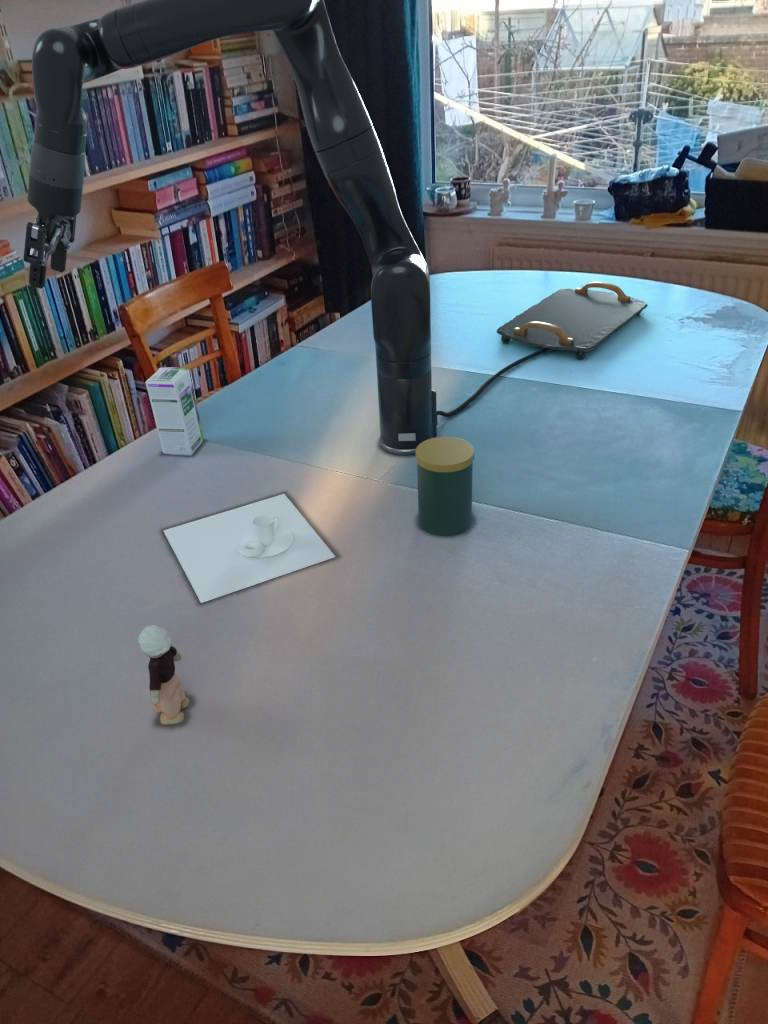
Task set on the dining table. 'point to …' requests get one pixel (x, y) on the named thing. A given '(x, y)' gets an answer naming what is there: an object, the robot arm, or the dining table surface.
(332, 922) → the dining table surface
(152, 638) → the grandmother figurine
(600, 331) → the serving tray
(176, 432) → the syrup box
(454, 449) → the tea tin
